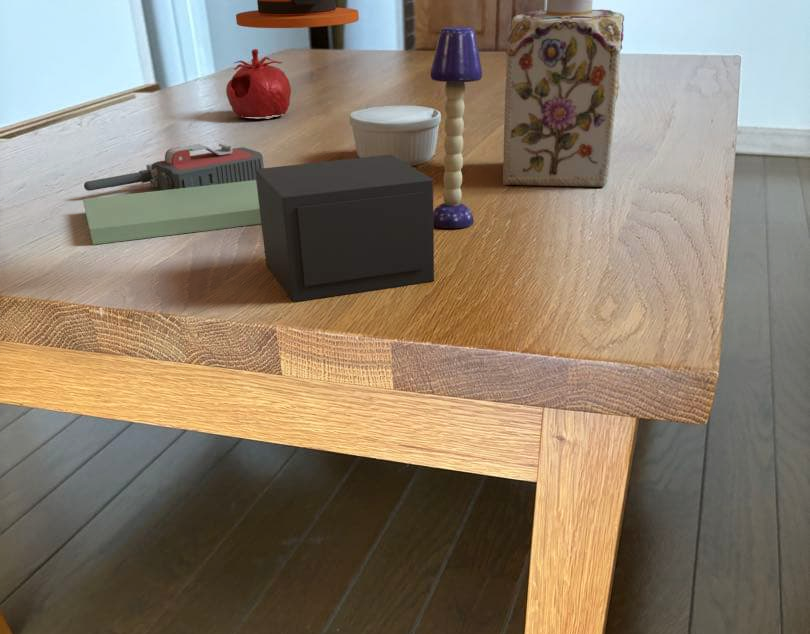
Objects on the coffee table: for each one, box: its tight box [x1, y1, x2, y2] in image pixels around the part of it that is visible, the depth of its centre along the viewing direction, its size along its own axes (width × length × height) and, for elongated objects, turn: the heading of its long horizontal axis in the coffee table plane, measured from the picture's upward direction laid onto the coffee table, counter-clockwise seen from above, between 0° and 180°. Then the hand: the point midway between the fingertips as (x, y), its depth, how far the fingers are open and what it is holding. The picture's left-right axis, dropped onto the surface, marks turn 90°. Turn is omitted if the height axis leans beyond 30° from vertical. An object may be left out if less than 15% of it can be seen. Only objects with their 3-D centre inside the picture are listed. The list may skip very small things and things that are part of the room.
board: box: [82, 180, 261, 246], centre depth 91 cm, size 20×12×2 cm, turn 110°
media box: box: [255, 155, 435, 303], centre depth 73 cm, size 12×10×8 cm
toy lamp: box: [430, 26, 483, 229], centre depth 82 cm, size 5×5×17 cm
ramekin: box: [349, 105, 442, 167], centre depth 109 cm, size 11×11×5 cm
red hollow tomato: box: [225, 48, 292, 117], centre depth 135 cm, size 10×10×9 cm
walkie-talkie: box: [83, 142, 265, 192], centre depth 100 cm, size 9×4×20 cm
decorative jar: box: [502, 0, 625, 188], centre depth 96 cm, size 12×12×18 cm
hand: (296, 0), depth 64 cm, fingers closed on hat, 5 cm apart
